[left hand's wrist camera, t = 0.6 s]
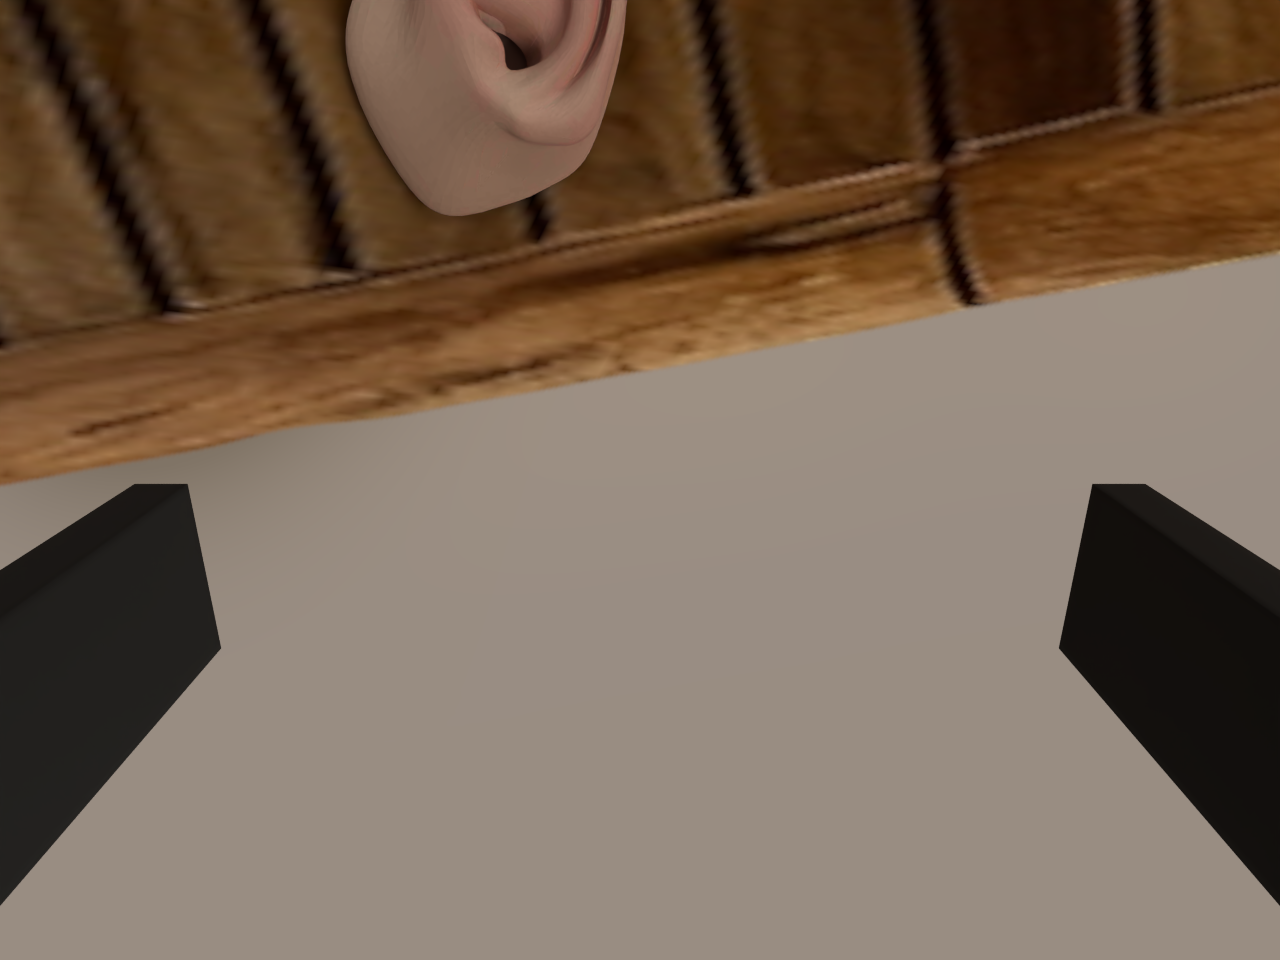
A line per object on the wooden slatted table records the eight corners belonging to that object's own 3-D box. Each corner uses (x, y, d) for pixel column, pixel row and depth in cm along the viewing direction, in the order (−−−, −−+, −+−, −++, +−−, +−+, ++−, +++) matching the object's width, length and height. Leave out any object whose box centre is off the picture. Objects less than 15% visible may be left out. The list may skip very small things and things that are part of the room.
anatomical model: (465, 275, 33) (228, 33, 30) (483, 264, 37) (274, 48, 34) (722, 12, 30) (484, -286, 27) (713, 29, 33) (504, -230, 31)
